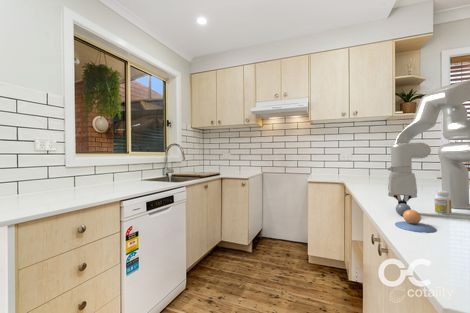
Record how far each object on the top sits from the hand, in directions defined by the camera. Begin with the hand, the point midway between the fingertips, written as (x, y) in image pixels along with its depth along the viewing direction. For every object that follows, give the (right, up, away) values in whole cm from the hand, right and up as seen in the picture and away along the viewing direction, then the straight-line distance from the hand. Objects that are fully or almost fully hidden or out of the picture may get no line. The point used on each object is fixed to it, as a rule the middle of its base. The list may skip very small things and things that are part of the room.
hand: (402, 209), depth 100 cm
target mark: (-10, -2, -19) cm, 21 cm away
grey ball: (-3, +1, -5) cm, 6 cm away
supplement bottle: (+16, -1, -3) cm, 16 cm away
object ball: (-8, +1, -15) cm, 17 cm away
